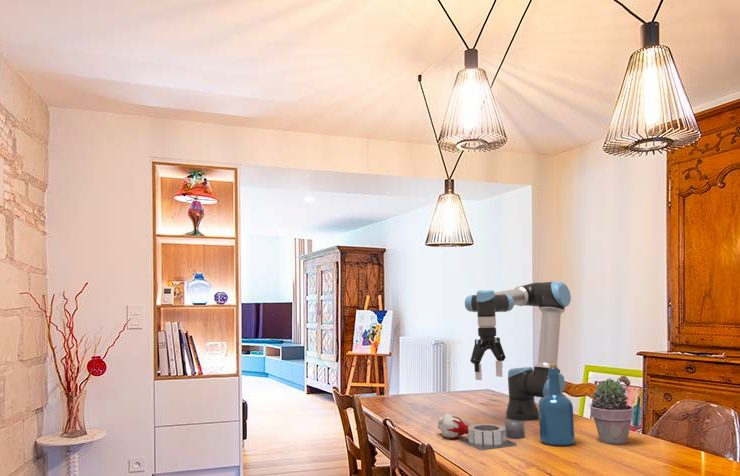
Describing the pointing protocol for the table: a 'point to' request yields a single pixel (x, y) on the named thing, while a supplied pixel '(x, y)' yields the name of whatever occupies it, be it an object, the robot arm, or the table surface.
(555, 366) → the wine bottle
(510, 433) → the cap
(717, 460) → the table surface
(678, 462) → the table surface
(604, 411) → the potted plant
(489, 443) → the square flange collar
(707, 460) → the table surface
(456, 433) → the candle
